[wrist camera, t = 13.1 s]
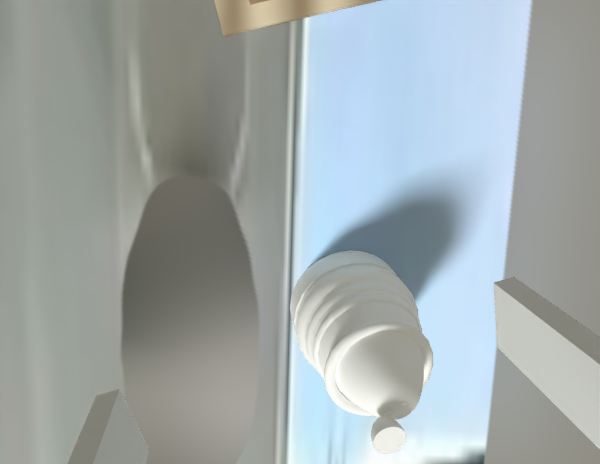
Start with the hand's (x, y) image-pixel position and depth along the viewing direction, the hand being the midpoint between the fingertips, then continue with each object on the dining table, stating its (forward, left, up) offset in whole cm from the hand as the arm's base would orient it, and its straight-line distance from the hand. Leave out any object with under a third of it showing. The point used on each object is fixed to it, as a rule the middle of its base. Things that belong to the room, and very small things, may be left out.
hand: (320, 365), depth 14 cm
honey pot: (+14, -10, -29) cm, 34 cm away
